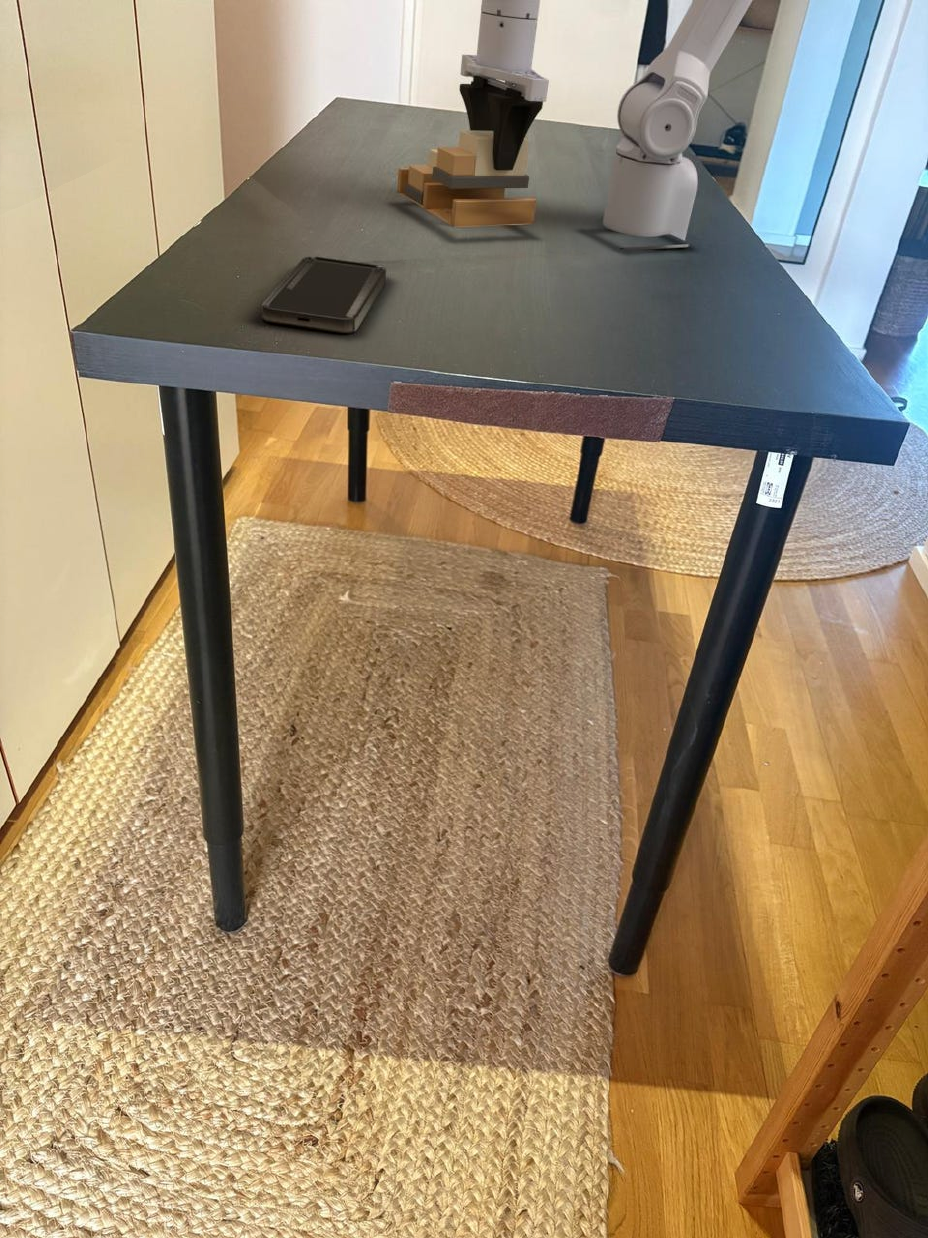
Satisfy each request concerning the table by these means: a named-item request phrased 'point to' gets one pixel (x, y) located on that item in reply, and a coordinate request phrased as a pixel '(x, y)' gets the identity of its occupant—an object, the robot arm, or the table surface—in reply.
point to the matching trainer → (420, 178)
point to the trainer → (478, 164)
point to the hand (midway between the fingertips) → (492, 164)
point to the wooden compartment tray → (472, 204)
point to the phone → (325, 295)
